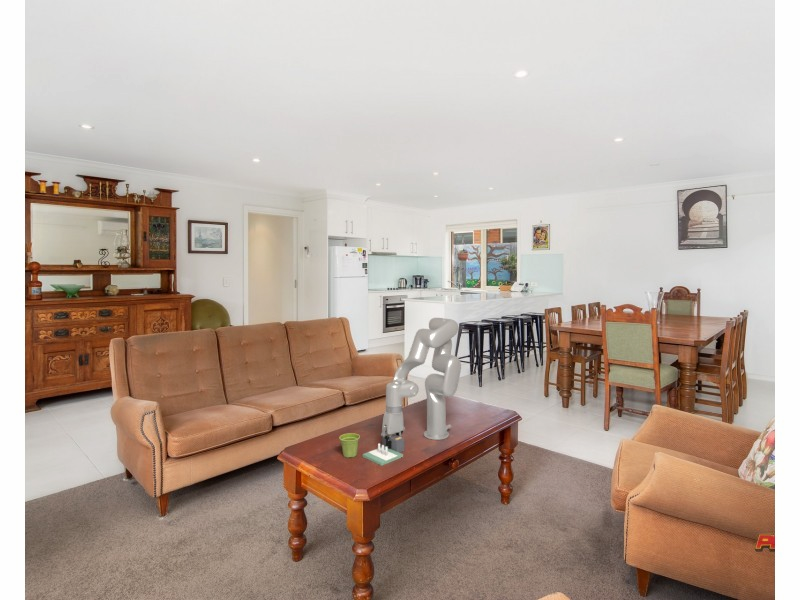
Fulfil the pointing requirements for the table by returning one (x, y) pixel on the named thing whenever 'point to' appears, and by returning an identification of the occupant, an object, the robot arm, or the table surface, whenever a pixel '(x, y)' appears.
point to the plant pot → (349, 444)
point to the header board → (382, 455)
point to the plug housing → (395, 443)
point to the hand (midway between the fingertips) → (393, 446)
